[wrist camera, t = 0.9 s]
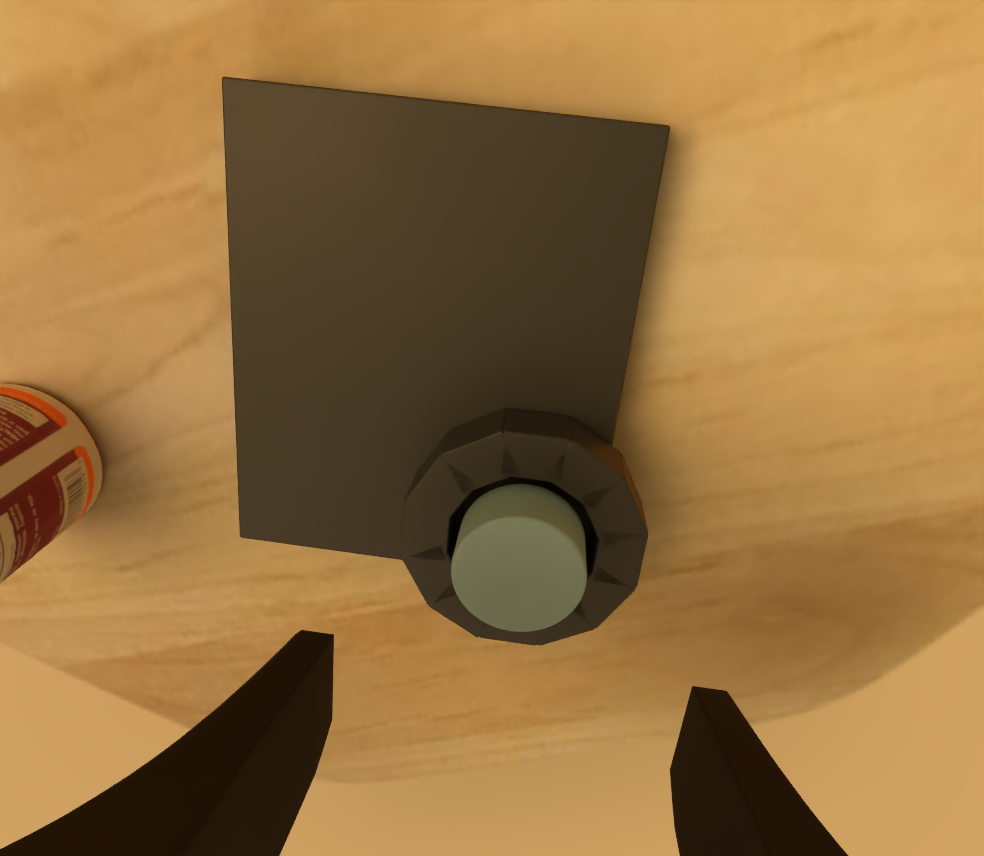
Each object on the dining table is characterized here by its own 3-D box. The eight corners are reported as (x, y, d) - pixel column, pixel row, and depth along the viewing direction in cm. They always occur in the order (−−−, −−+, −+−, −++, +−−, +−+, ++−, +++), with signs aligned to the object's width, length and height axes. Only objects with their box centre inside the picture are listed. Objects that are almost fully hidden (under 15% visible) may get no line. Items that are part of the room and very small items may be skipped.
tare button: (575, 598, 19) (576, 641, 18) (455, 581, 19) (445, 623, 18) (594, 491, 18) (597, 527, 16) (465, 474, 18) (456, 508, 16)
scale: (614, 592, 22) (621, 659, 19) (258, 543, 23) (216, 601, 20) (707, 130, 17) (735, 131, 14) (246, 80, 18) (186, 71, 15)
